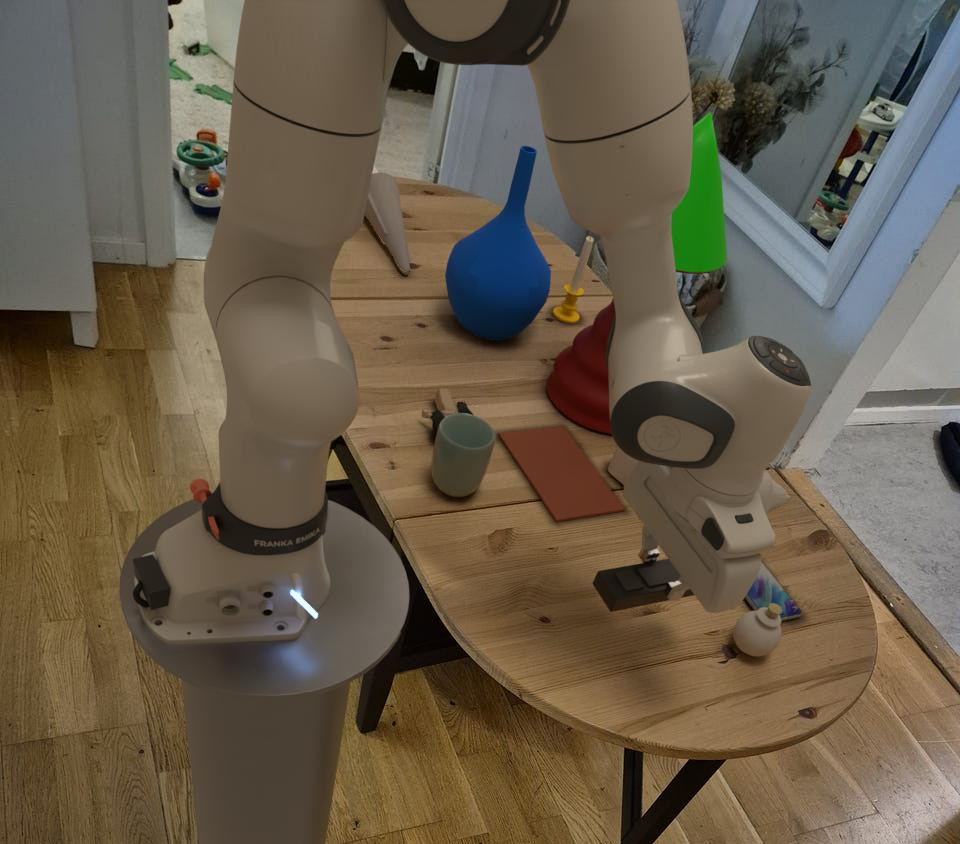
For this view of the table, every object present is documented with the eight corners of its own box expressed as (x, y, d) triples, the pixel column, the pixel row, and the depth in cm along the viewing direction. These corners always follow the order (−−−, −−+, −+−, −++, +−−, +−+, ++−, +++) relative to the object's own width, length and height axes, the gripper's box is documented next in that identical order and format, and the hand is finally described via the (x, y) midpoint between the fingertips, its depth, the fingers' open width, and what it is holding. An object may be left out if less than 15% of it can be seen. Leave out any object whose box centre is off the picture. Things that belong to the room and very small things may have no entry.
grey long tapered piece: (448, 254, 154) (401, 173, 165) (406, 254, 150) (360, 170, 161) (438, 291, 160) (393, 210, 171) (397, 291, 157) (354, 208, 167)
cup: (491, 491, 120) (507, 436, 113) (455, 512, 116) (469, 456, 108) (452, 462, 123) (466, 406, 115) (416, 481, 118) (427, 424, 111)
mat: (556, 522, 119) (556, 519, 119) (498, 435, 129) (498, 432, 129) (623, 511, 124) (624, 508, 124) (562, 428, 134) (563, 425, 134)
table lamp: (678, 420, 143) (810, 140, 109) (600, 449, 133) (720, 150, 99) (601, 358, 151) (703, 78, 117) (522, 381, 141) (608, 81, 107)
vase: (532, 308, 157) (579, 139, 135) (539, 362, 145) (592, 187, 123) (437, 290, 154) (469, 114, 131) (437, 344, 142) (472, 160, 120)
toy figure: (408, 405, 130) (441, 464, 121) (418, 370, 125) (453, 427, 117) (448, 408, 133) (484, 464, 124) (459, 373, 129) (497, 429, 120)
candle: (579, 325, 157) (606, 245, 145) (553, 320, 156) (577, 238, 144) (578, 311, 160) (603, 232, 148) (552, 306, 159) (576, 225, 148)
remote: (610, 612, 94) (617, 598, 93) (591, 583, 97) (598, 569, 95) (711, 591, 101) (720, 578, 99) (691, 565, 103) (700, 551, 101)
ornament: (718, 632, 112) (751, 581, 104) (763, 627, 114) (799, 578, 107) (737, 667, 108) (774, 618, 101) (784, 662, 111) (823, 614, 103)
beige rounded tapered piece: (673, 506, 134) (734, 533, 122) (679, 456, 131) (743, 478, 118) (720, 501, 138) (785, 526, 126) (727, 451, 134) (795, 472, 122)
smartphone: (746, 540, 124) (805, 613, 116) (743, 544, 125) (801, 617, 117) (708, 545, 121) (766, 621, 113) (706, 549, 122) (763, 625, 114)
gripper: (635, 429, 91) (595, 521, 102) (738, 560, 81) (681, 647, 91) (680, 425, 94) (636, 515, 104) (786, 551, 83) (725, 637, 94)
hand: (658, 578), depth 97 cm, fingers closed on remote, 4 cm apart
